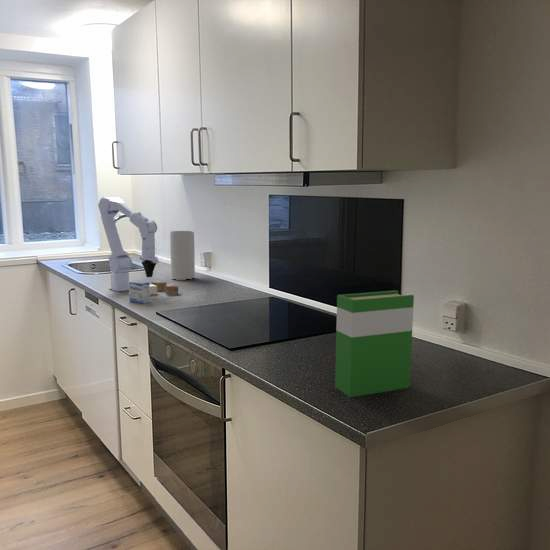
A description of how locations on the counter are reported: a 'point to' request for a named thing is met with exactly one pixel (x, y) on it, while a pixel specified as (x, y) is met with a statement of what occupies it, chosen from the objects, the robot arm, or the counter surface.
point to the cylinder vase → (182, 255)
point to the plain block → (153, 289)
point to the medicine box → (139, 292)
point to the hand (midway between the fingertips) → (149, 277)
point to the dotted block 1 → (159, 285)
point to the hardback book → (373, 342)
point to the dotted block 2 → (171, 289)
